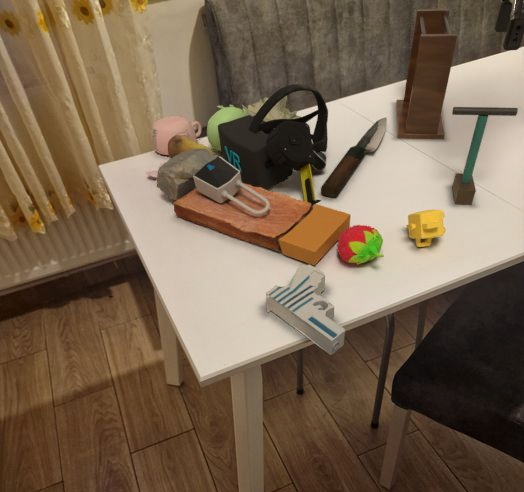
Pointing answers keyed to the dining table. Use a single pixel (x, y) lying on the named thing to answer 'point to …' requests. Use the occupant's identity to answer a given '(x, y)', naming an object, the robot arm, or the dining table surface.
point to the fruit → (183, 145)
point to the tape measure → (294, 153)
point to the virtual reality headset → (254, 143)
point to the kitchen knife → (354, 159)
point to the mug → (172, 131)
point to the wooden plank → (269, 221)
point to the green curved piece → (222, 117)
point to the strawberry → (359, 244)
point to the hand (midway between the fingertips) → (505, 40)
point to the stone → (182, 172)
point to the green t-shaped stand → (474, 150)
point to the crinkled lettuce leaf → (273, 110)
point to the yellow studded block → (426, 226)
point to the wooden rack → (426, 76)
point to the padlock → (224, 183)
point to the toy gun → (307, 308)
